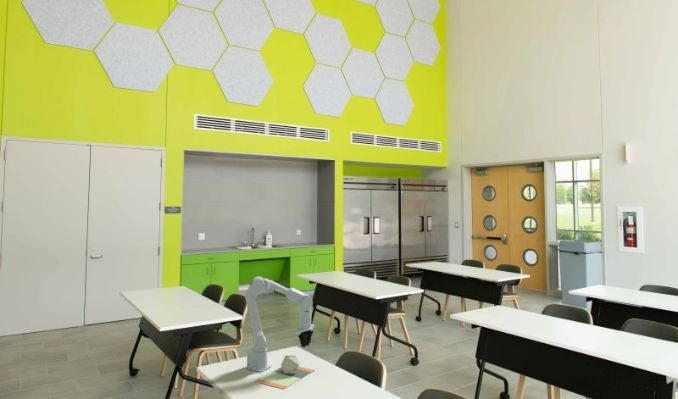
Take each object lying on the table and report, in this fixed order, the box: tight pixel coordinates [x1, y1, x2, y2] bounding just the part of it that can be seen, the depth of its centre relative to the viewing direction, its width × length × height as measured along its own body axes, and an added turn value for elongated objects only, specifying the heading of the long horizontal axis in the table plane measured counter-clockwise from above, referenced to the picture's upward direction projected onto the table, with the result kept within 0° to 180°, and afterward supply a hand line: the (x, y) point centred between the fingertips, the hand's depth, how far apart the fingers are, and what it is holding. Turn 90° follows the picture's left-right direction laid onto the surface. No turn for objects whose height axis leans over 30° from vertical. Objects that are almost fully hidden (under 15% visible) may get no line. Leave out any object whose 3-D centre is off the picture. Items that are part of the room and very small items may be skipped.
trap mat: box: [254, 366, 315, 390], centre depth 192 cm, size 16×25×1 cm, turn 151°
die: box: [280, 355, 300, 374], centre depth 195 cm, size 8×9×10 cm
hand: (305, 346), depth 206 cm, fingers open, 2 cm apart
